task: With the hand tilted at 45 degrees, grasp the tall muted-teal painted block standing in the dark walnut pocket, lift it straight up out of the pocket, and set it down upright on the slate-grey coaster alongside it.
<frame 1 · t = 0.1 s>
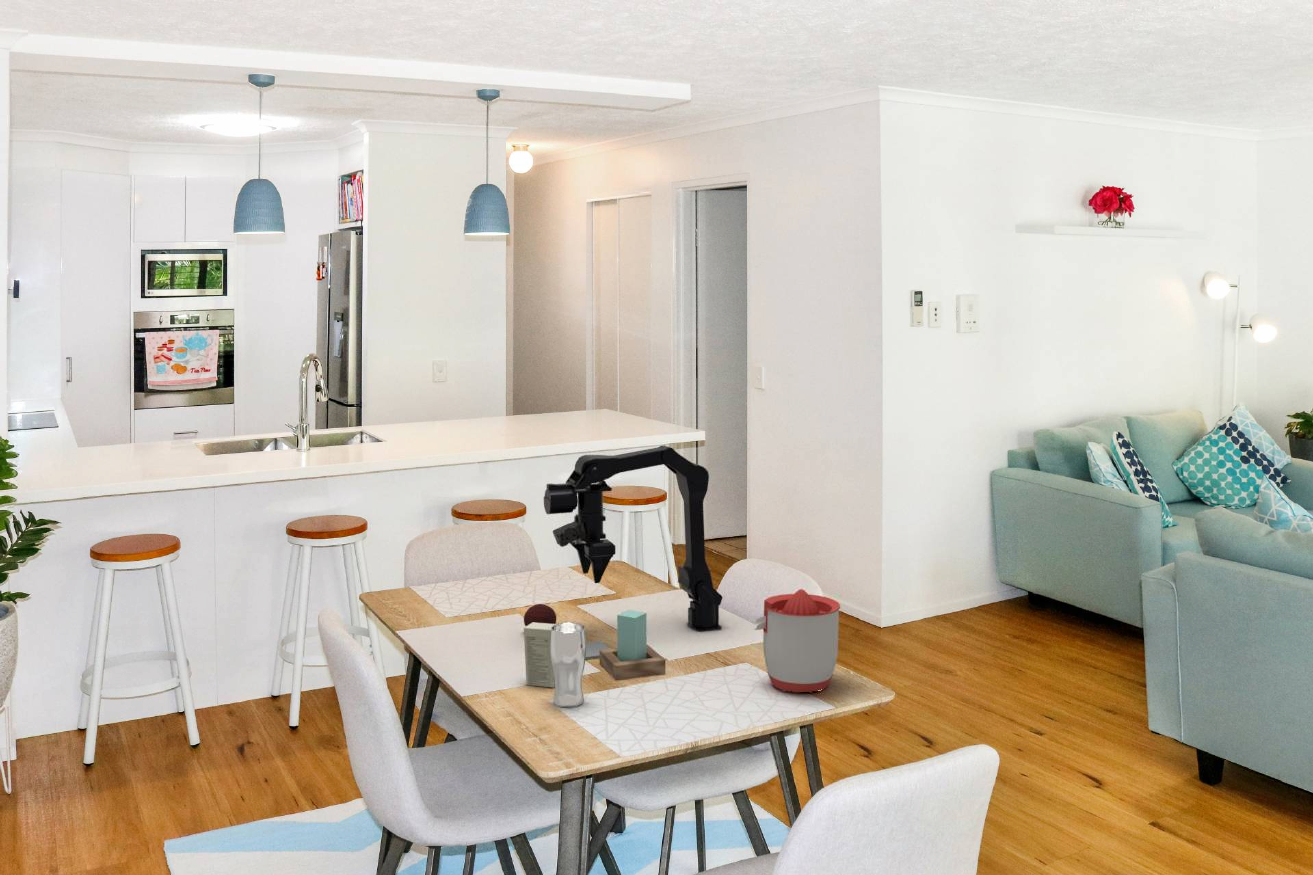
hand: (591, 578, 253), 15 cm above the table, tool pointing down, fingers open, 9 cm apart
teal block: (631, 641, 235), in the walnut pocket
walnut pocket: (632, 668, 235), on the table
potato: (540, 634, 260), on the table
beer glass: (568, 702, 216), on the table
slate coaster: (585, 651, 246), on the table
skincare box: (543, 684, 227), on the table
citrus juicer: (795, 685, 226), on the table
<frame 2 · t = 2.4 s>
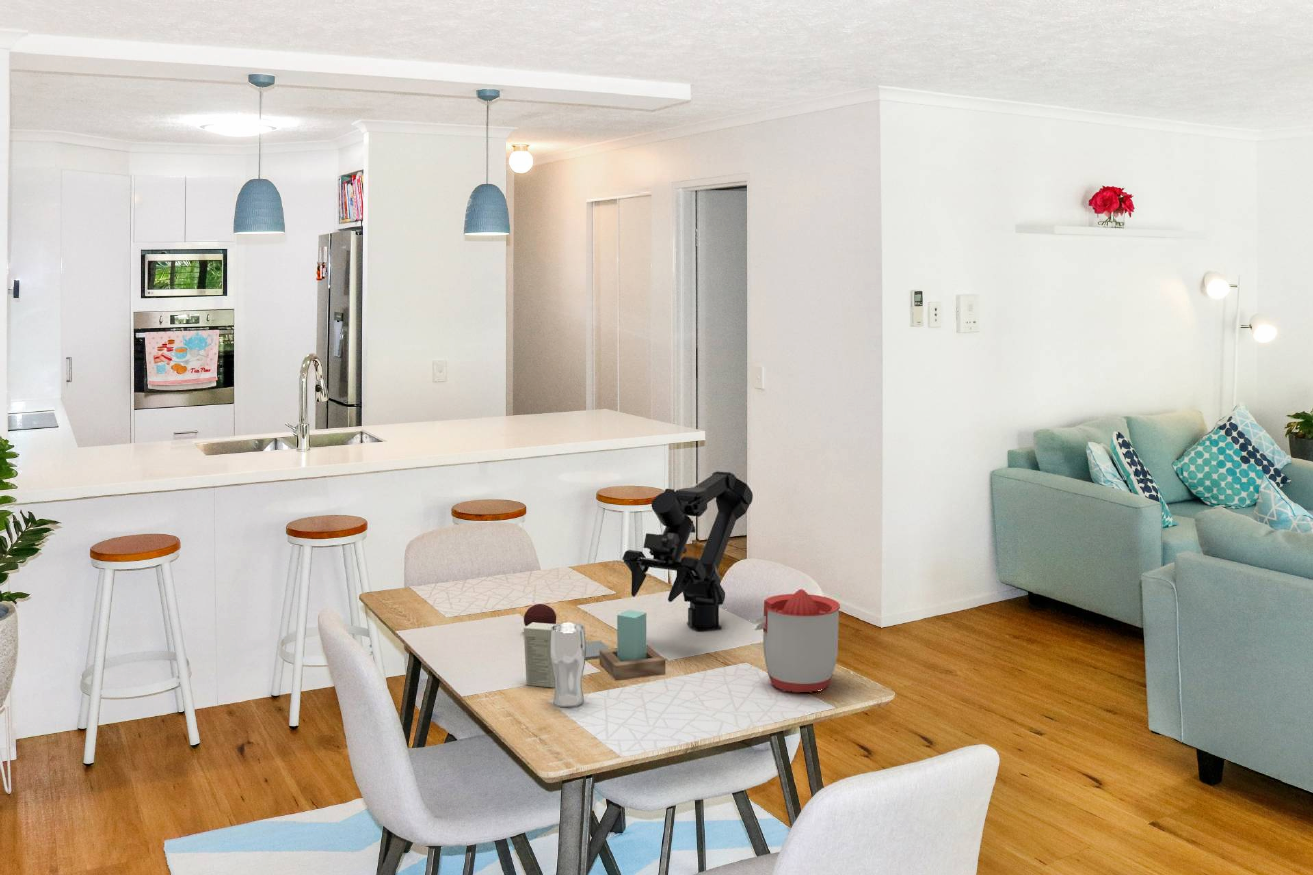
hand: (650, 598, 241), 13 cm above the table, tool tilted 45°, fingers open, 9 cm apart
nothing on the table moved.
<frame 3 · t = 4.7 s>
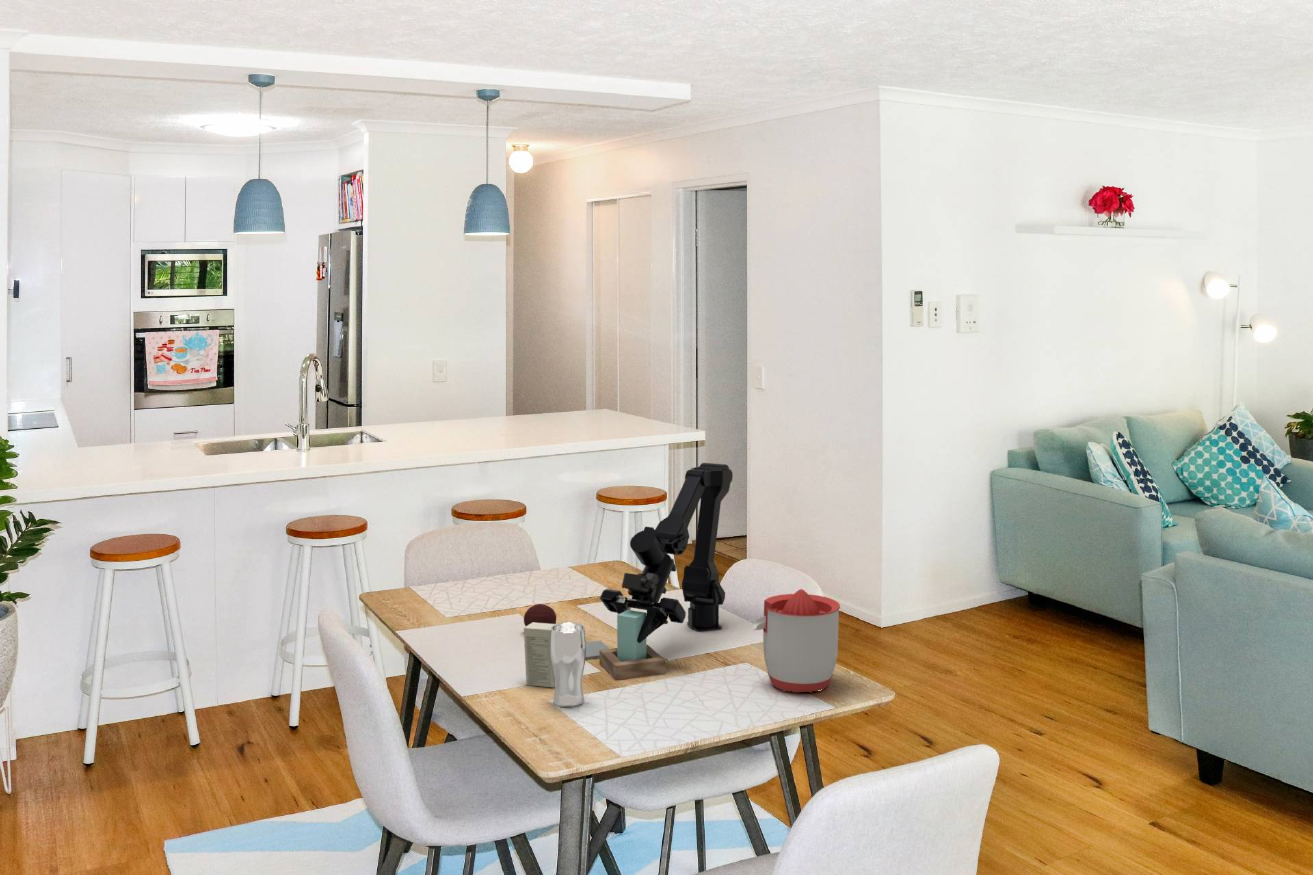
hand: (628, 640, 233), 7 cm above the table, tool tilted 45°, fingers closed on teal block, 4 cm apart
teal block: (631, 641, 235), in the walnut pocket, touching gripper
everything else where it was.
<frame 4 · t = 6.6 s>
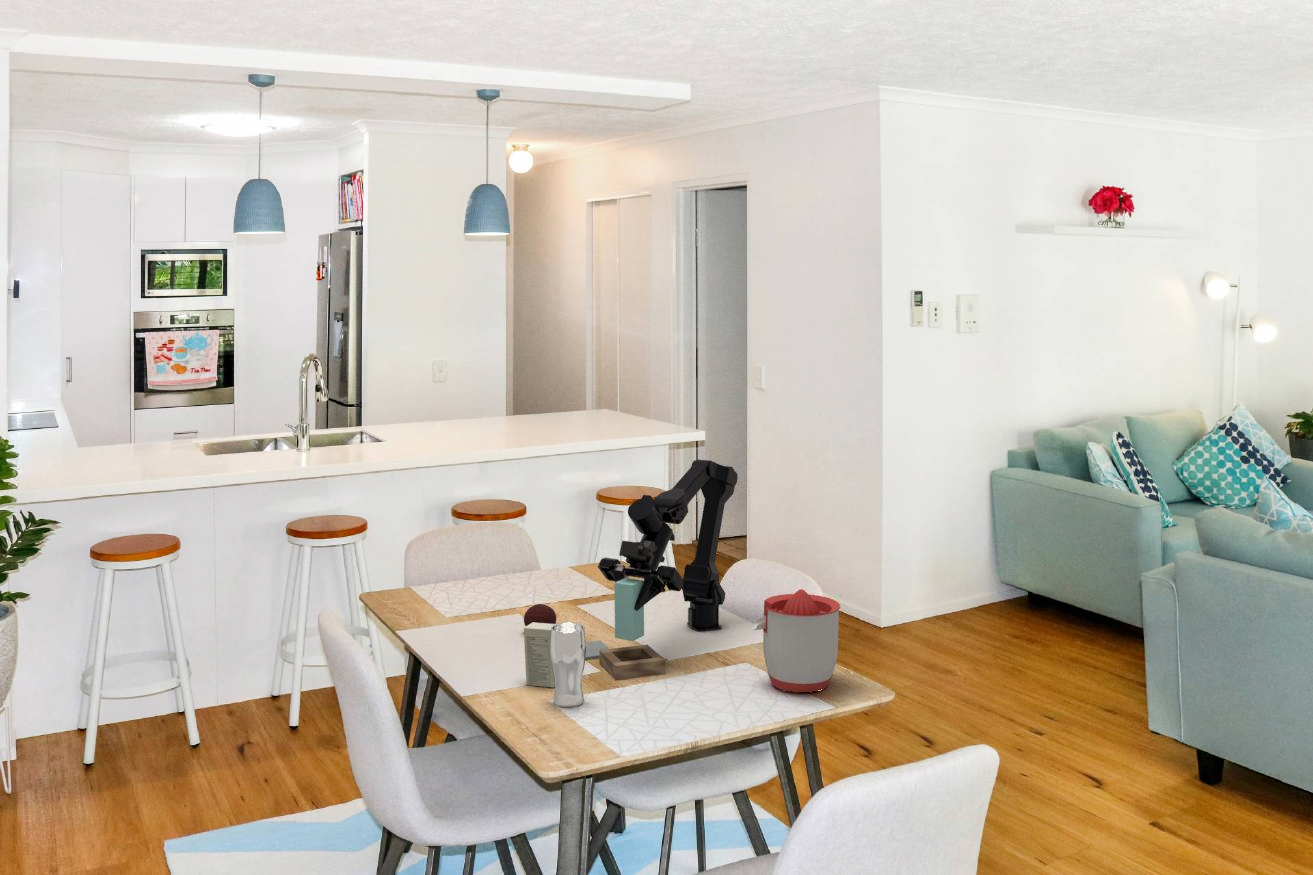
hand: (625, 607, 233), 13 cm above the table, tool tilted 45°, fingers closed on teal block, 4 cm apart
teal block: (629, 609, 234), point 13 cm above the table, touching gripper
everything else where it was.
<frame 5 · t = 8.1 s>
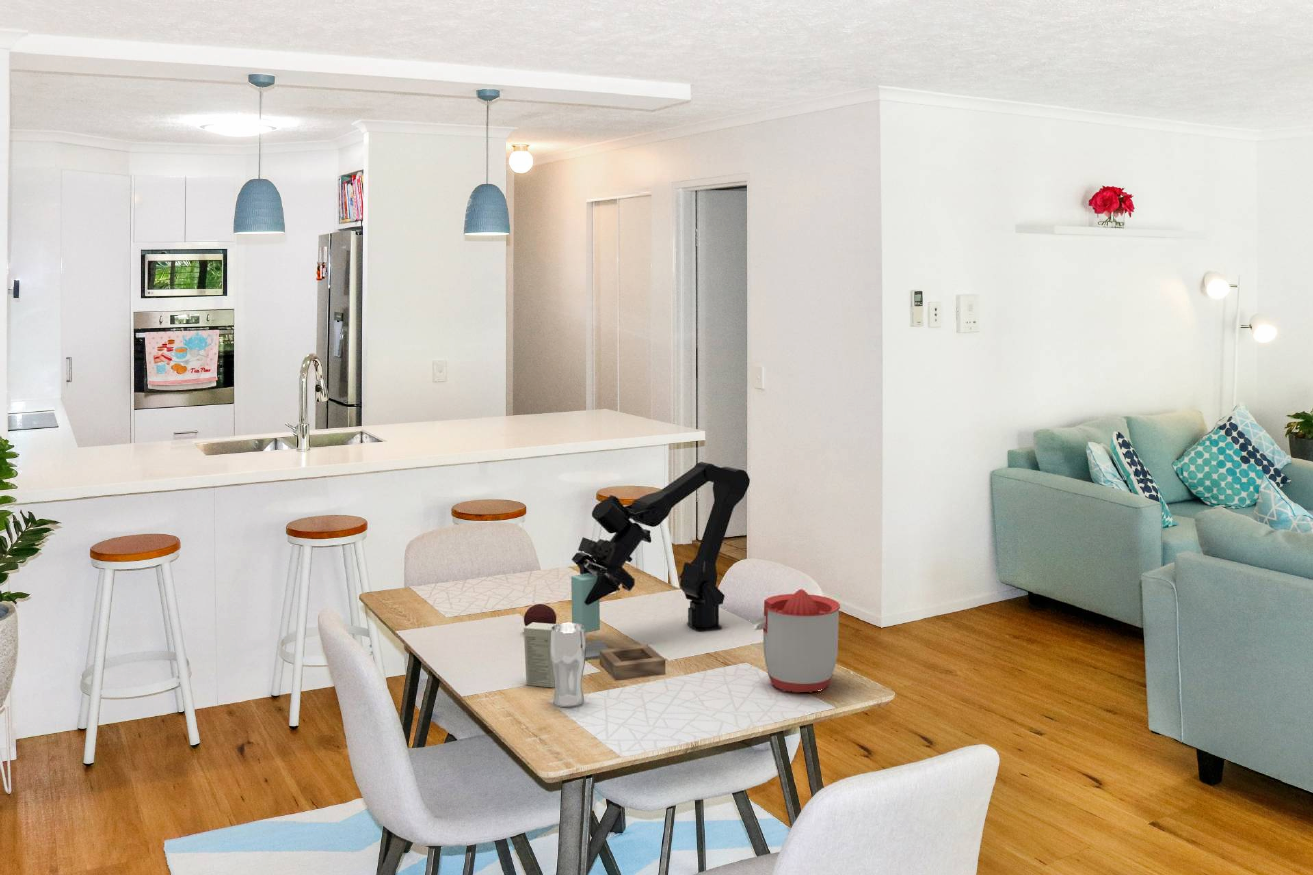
hand: (580, 601, 244), 12 cm above the table, tool tilted 45°, fingers closed on teal block, 4 cm apart
teal block: (585, 603, 245), point 11 cm above the table, touching gripper
everything else where it was.
when the fingers open (8 cm above the table, at t = 9.0 s): teal block stays where it is, resting on slate coaster.
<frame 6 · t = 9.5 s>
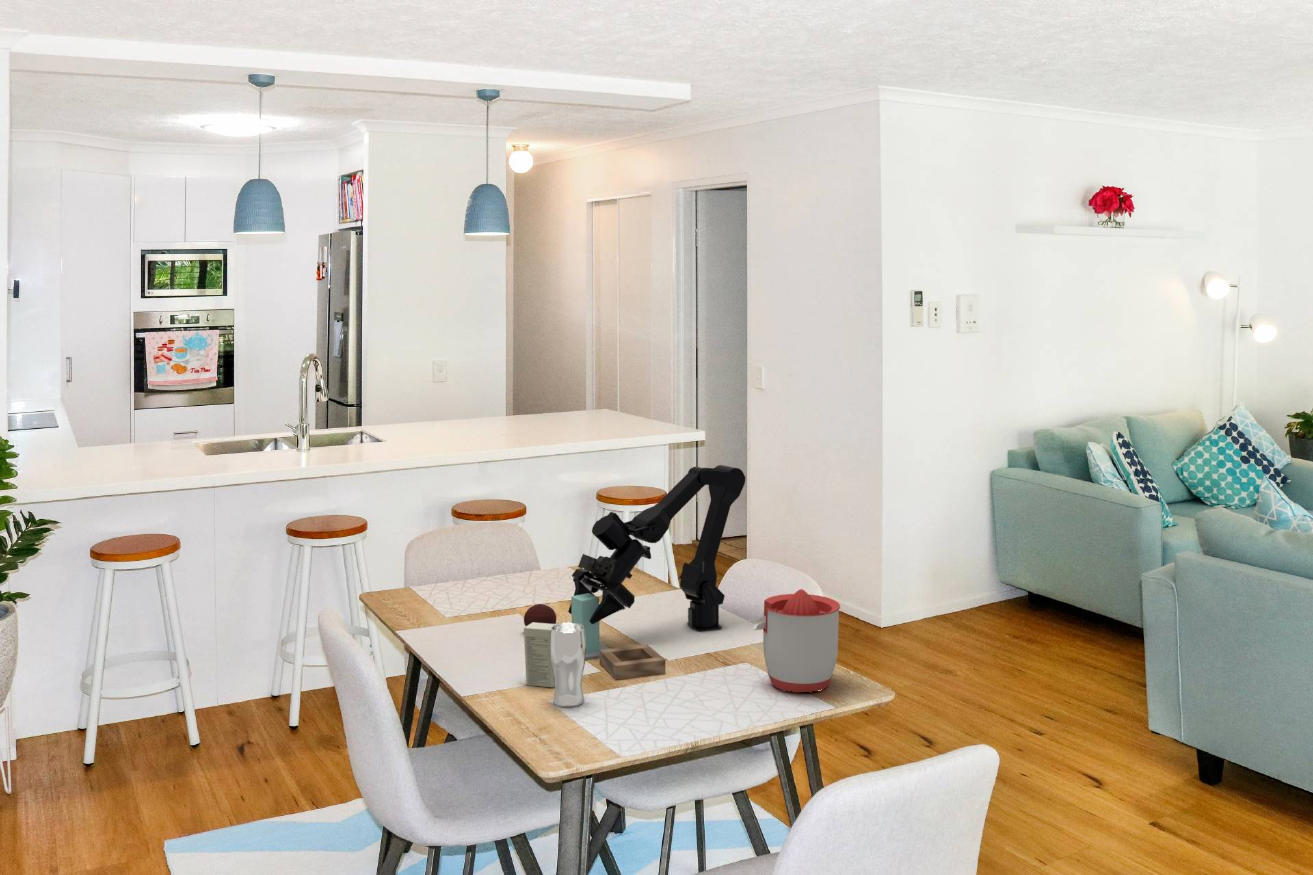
hand: (580, 617, 244), 8 cm above the table, tool tilted 45°, fingers open, 9 cm apart
teal block: (585, 623, 245), on the slate coaster, point 7 cm above the table
everything else where it was.
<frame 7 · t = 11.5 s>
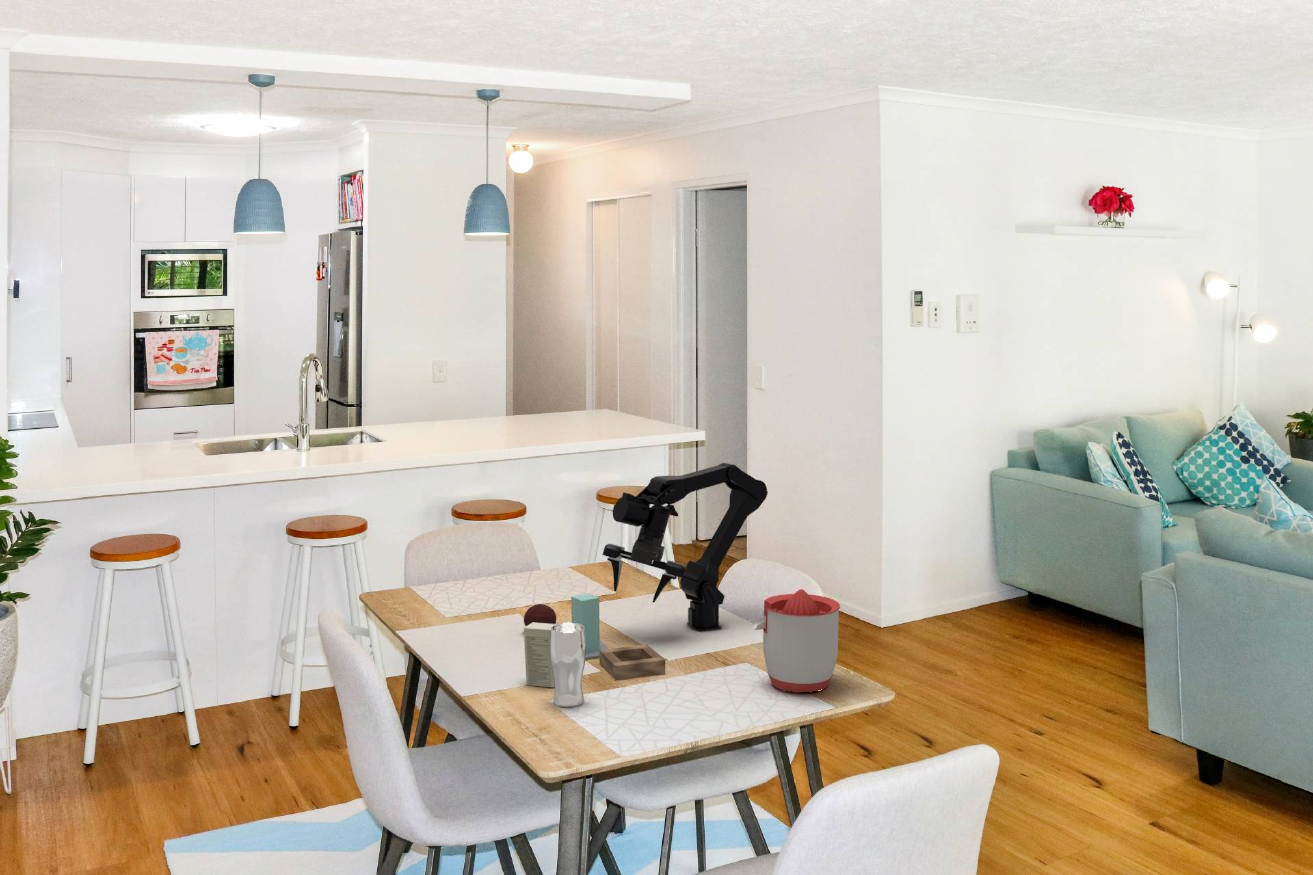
hand: (634, 596, 253), 10 cm above the table, tool tilted 20°, fingers open, 9 cm apart
nothing on the table moved.
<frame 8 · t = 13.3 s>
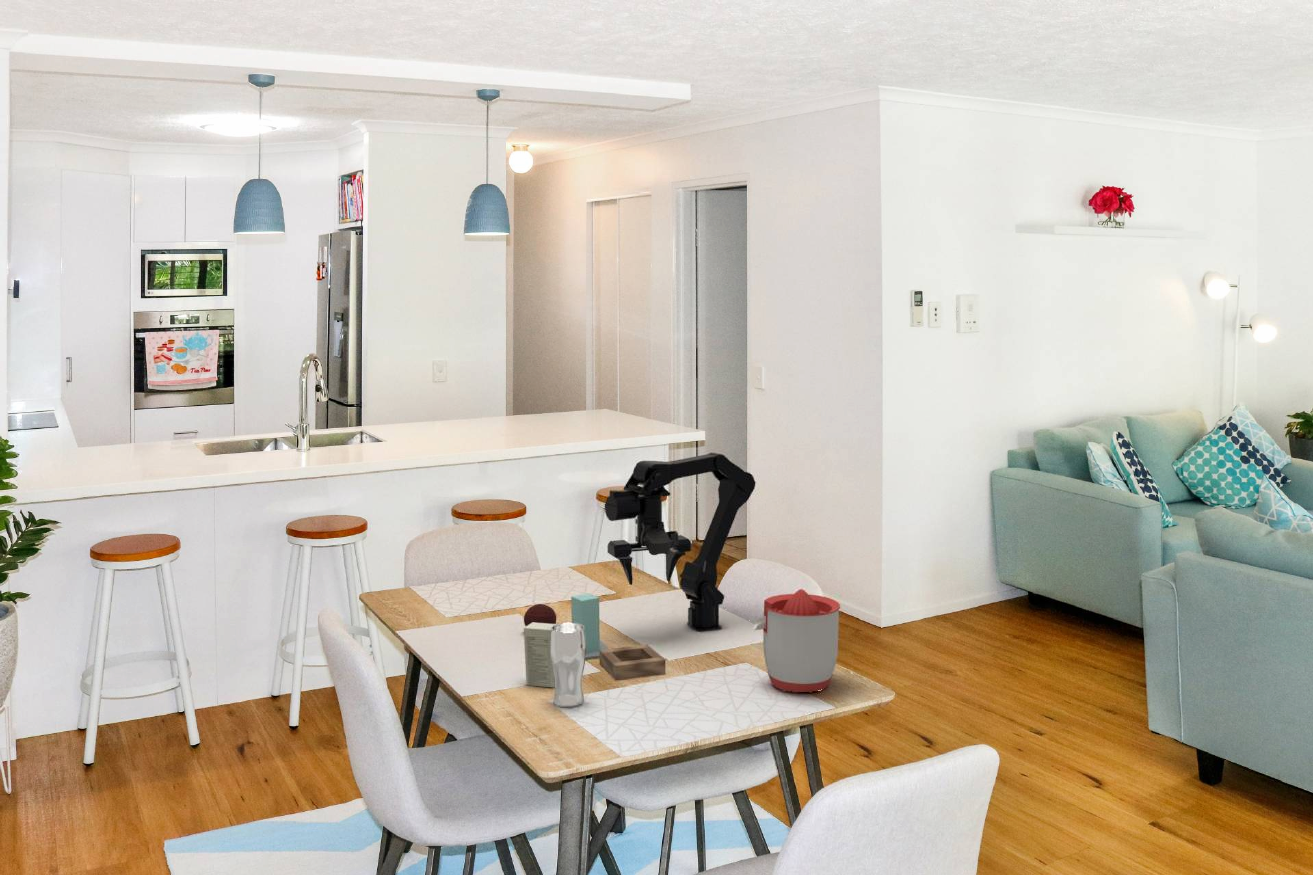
hand: (649, 582, 255), 13 cm above the table, tool pointing down, fingers open, 9 cm apart
nothing on the table moved.
at the end: teal block inside the target area (0.0 cm from its centre), point 6.6 cm above the table; teal block tilted 0°; teal block touching slate coaster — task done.
